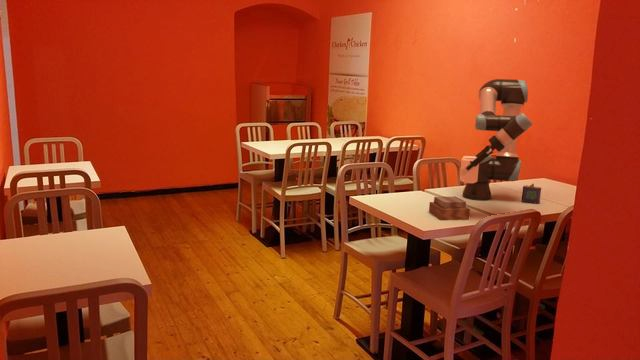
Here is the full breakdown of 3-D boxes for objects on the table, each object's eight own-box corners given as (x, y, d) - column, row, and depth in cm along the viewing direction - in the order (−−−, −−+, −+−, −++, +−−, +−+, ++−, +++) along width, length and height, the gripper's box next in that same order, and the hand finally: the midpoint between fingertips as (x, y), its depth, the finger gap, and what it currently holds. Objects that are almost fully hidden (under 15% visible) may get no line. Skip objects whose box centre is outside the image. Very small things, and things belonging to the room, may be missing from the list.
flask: (539, 203, 280) (541, 183, 278) (539, 204, 277) (542, 184, 275) (520, 201, 282) (523, 182, 280) (521, 202, 280) (523, 183, 277)
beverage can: (457, 180, 252) (459, 155, 250) (473, 180, 253) (475, 155, 251) (463, 183, 244) (465, 158, 242) (480, 183, 245) (482, 158, 243)
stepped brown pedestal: (455, 211, 256) (457, 195, 255) (469, 219, 243) (470, 202, 241) (428, 212, 254) (430, 196, 252) (441, 220, 240) (442, 203, 238)
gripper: (506, 149, 231) (466, 182, 239) (505, 144, 251) (467, 174, 258) (495, 136, 232) (455, 169, 239) (494, 132, 251) (457, 163, 259)
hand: (461, 172), depth 249 cm, fingers closed on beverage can, 8 cm apart
